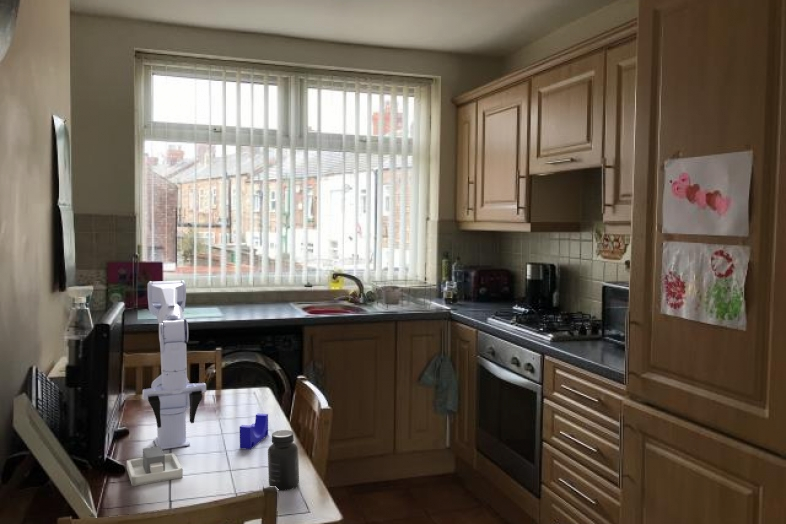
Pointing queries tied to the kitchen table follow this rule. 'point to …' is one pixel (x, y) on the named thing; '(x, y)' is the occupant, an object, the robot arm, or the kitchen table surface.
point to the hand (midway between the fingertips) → (175, 424)
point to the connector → (153, 460)
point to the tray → (140, 477)
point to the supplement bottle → (283, 461)
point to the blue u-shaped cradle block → (254, 431)
